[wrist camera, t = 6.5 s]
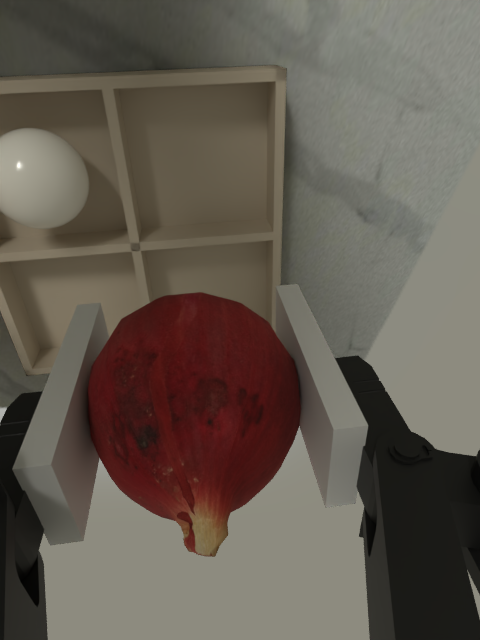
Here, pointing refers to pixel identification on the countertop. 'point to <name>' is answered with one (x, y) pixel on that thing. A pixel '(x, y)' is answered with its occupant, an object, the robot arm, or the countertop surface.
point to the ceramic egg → (41, 179)
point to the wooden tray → (148, 197)
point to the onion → (193, 410)
